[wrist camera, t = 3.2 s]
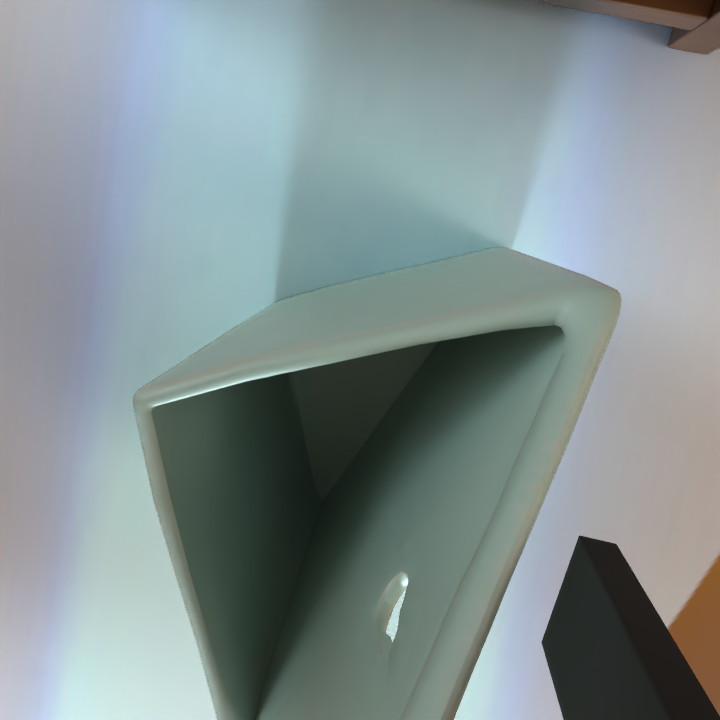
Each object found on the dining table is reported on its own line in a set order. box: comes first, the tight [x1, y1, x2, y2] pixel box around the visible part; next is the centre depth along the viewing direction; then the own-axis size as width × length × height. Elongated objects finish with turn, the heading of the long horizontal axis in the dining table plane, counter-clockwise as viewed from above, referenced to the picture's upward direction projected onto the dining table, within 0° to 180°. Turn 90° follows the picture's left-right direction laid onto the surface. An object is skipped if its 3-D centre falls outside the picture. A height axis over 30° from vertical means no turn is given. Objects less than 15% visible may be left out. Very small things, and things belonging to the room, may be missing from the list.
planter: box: [133, 247, 621, 720], centre depth 17 cm, size 16×8×20 cm, turn 147°
